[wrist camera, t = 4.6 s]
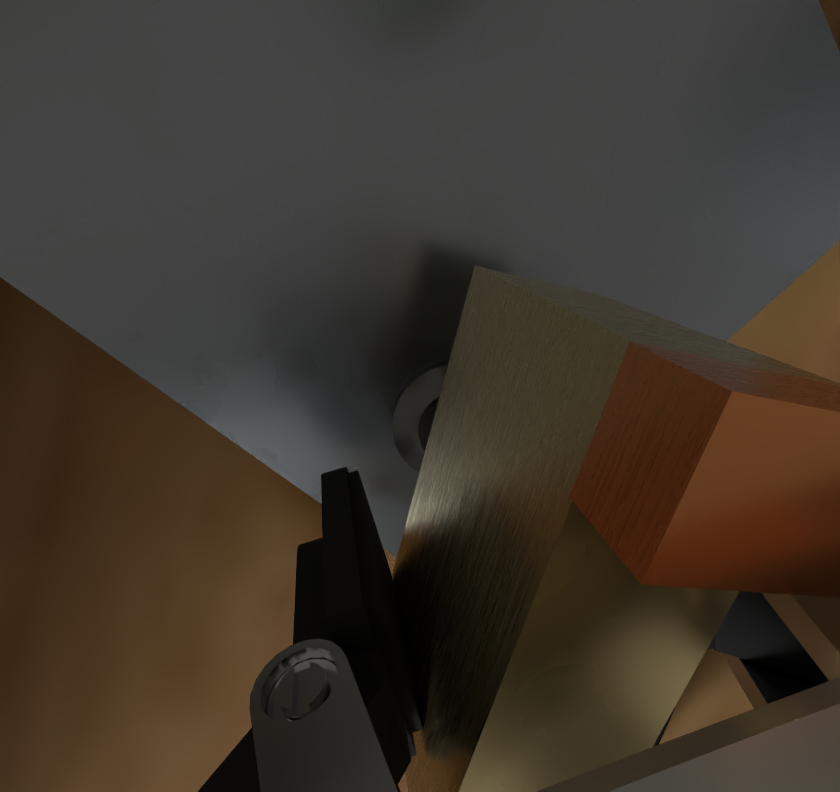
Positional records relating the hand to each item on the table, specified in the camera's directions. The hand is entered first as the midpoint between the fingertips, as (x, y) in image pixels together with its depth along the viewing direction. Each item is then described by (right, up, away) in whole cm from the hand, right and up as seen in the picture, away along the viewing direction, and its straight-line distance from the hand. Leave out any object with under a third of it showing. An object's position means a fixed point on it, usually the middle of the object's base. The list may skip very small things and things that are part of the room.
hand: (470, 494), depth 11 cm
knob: (0, +1, +2) cm, 2 cm away
